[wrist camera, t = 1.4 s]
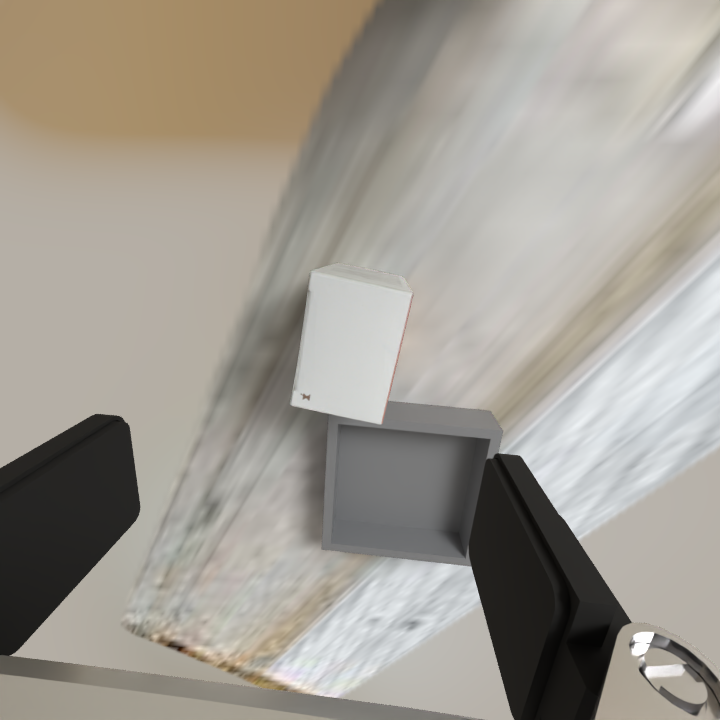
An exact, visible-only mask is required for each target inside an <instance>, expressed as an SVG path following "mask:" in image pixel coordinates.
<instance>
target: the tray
mask: <svg viewBox="0 0 720 720" xmlns="http://www.w3.org/2000/svg"><path fill="white" fill-rule="evenodd" d="M502 434H503V430H502V428H501V427H500V425H499V423H498V422H497V420H496V419H495V417H494V415H493V414H492V412H491V411H486V410H475V409H465V408H454V407H444V406H433V405H423V404H412V403H402V402H391V401H388V402H387V407H386V411H385V415H384V419H383V423H382V424H381V425H379V424H375V423H370V422H365V421H360V420H355V419H350V418H346V417H341V416H336V415H332V414H328V432H327V452H326V472H325V492H324V511H323V531H322V549H323V550H332V551H341V552H349V553H358V554H367V555H376V556H384V557H393V558H402V559H411V560H419V561H428V562H437V563H446V564H455V565H463V566H471V563H470V559H469V549H468V548H469V539H470V535H471V530H472V525H473V520H474V515H475V510H476V505H477V501H478V496H479V491H480V486H481V481H482V476H483V471H484V467H485V462H486V460H487V459H488V458H490V459H493V457H494V455H495V454H496V453H498V452H499V448H500V443H501V438H502Z"/></svg>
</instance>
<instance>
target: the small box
mask: <svg viewBox="0 0 720 720" xmlns="http://www.w3.org/2000/svg"><path fill="white" fill-rule="evenodd" d="M412 298H413V292H412V290H411V289H410V287H409V285H408V284H407V282H406V280H405V279H404V277H403V276H399V275H394V274H390V273H385V272H381V271H376V270H371V269H367V268H362V267H357V266H352V265H347V264H342V263H335V264H331V265H327V266H324V267H321V268H318V269H314V270H311V271H310V273H309V282H308V293H307V301H306V308H305V315H304V322H303V328H302V335H301V342H300V349H299V355H298V361H297V368H296V374H295V379H294V385H293V390H292V394H291V399H290V405H291V406H295V407H299V408H304V409H308V410H313V411H318V412H322V413H327V414H332V415H336V416H341V417H346V418H350V419H355V420H360V421H365V422H370V423H375V424H379V425H381V424H382V423H383V419H384V415H385V411H386V407H387V402H388V398H389V394H390V390H391V386H392V382H393V378H394V374H395V369H396V365H397V361H398V357H399V353H400V349H401V344H402V340H403V336H404V332H405V328H406V323H407V319H408V315H409V311H410V307H411V303H412Z"/></svg>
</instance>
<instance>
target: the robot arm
mask: <svg viewBox="0 0 720 720" xmlns="http://www.w3.org/2000/svg"><path fill="white" fill-rule="evenodd" d="M139 512H140V501H139V494H138V486H137V478H136V471H135V464H134V457H133V449H132V441H131V434H130V428H129V425H128V424H127V423H126V422H125V421H124V420H123V418H122V417H120V416H114V415H103V414H95V415H92V416H90V417H89V418H87V419H85V420H84V421H82V422H80V423H78V424H77V425H75V426H73V427H71V428H70V429H68V430H66V431H64V432H63V433H61V434H59V435H58V436H56V437H54V438H52V439H50V440H49V441H47V442H45V443H43V444H42V445H40V446H38V447H37V448H35V449H33V450H31V451H30V452H28V453H26V454H24V455H23V456H21V457H19V458H18V459H16V460H14V461H12V462H10V463H9V464H7V465H6V466H3V467H2V468H0V720H483V719H477V718H470V717H464V716H458V715H451V714H445V713H438V712H432V711H425V710H419V709H413V708H406V707H398V706H391V705H383V704H376V703H369V702H361V701H354V700H347V699H339V698H332V697H324V696H317V695H310V694H302V693H295V692H287V691H280V690H273V689H265V688H258V687H250V686H242V685H235V684H227V683H219V682H212V681H204V680H196V679H188V678H181V677H173V676H165V675H157V674H150V673H142V672H134V671H126V670H118V669H110V668H102V667H95V666H87V665H78V664H71V663H63V662H54V661H46V660H38V659H30V658H21V657H13V656H10V655H12V654H13V653H15V652H16V651H17V650H18V649H19V648H20V647H21V646H22V645H23V644H24V643H25V642H26V641H27V640H28V639H29V637H30V636H31V635H32V634H33V633H34V632H35V631H36V630H37V629H38V627H40V625H41V624H42V623H43V622H44V621H45V620H46V619H47V618H48V617H49V616H50V614H51V613H52V612H53V611H54V610H55V609H56V608H57V607H58V606H59V605H60V603H61V602H62V601H63V600H64V599H65V598H66V597H67V596H68V595H69V593H70V592H71V591H72V590H73V589H74V588H75V587H76V586H77V585H78V583H80V581H81V580H82V579H83V578H84V577H85V576H86V575H87V574H88V573H89V572H90V571H91V569H92V568H93V567H94V566H95V565H96V564H97V563H98V561H100V560H101V558H102V557H103V556H104V555H105V554H106V553H107V552H108V551H109V550H110V548H111V547H112V546H113V545H114V544H115V543H116V542H117V541H118V540H119V539H120V537H121V536H122V535H123V534H124V533H125V532H126V531H127V530H128V529H129V528H130V527H131V525H132V524H133V523H134V522H135V521H136V519H137V517H138V515H139ZM468 549H469V559H470V563H471V566H472V570H473V574H474V577H475V581H476V585H477V588H478V592H479V596H480V599H481V603H482V607H483V610H484V614H485V617H486V621H487V625H488V629H489V632H490V636H491V640H492V643H493V647H494V651H495V655H496V658H497V662H498V666H499V669H500V673H501V677H502V680H503V684H504V688H505V691H506V695H507V699H508V702H509V706H510V710H511V713H512V716H513V718H514V720H720V669H719V668H718V667H717V666H716V665H715V664H714V663H713V662H712V661H711V660H710V659H709V658H707V657H706V656H705V655H704V654H703V653H702V652H700V650H698V649H697V648H695V647H694V646H692V645H691V644H690V643H688V642H687V641H685V640H684V639H682V638H681V637H679V636H677V635H675V634H673V633H671V632H669V631H667V630H665V629H663V628H661V627H657V626H654V625H650V624H647V623H632V622H631V621H630V619H629V617H628V616H627V615H626V613H625V611H624V610H623V608H622V607H621V605H620V604H619V602H618V601H617V599H616V598H615V596H614V595H613V593H612V592H611V590H610V589H609V587H608V586H607V584H606V583H605V581H604V580H603V578H602V577H601V575H600V573H599V572H598V570H597V569H596V567H595V566H594V564H593V563H592V561H591V560H590V558H589V557H588V555H587V554H586V552H585V551H584V549H583V548H582V546H581V545H580V543H579V541H578V540H577V538H576V537H575V535H574V534H573V532H572V531H571V529H570V528H569V526H568V525H567V523H566V522H565V520H564V519H563V518H562V517H561V516H560V515H559V514H558V513H557V511H556V510H555V508H554V507H553V505H552V504H551V502H550V500H549V499H548V497H547V496H546V494H545V493H544V491H543V490H542V488H541V487H540V485H539V484H538V482H537V480H536V479H535V477H534V476H533V474H532V473H531V471H530V470H529V468H528V467H527V465H526V464H525V462H524V460H523V459H522V458H521V457H520V456H518V455H509V454H499V453H496V454H495V455H494V457H493V459H490V458H488V459H487V460H486V462H485V467H484V471H483V476H482V481H481V486H480V491H479V496H478V501H477V505H476V510H475V515H474V520H473V525H472V530H471V535H470V539H469V548H468Z"/></svg>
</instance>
